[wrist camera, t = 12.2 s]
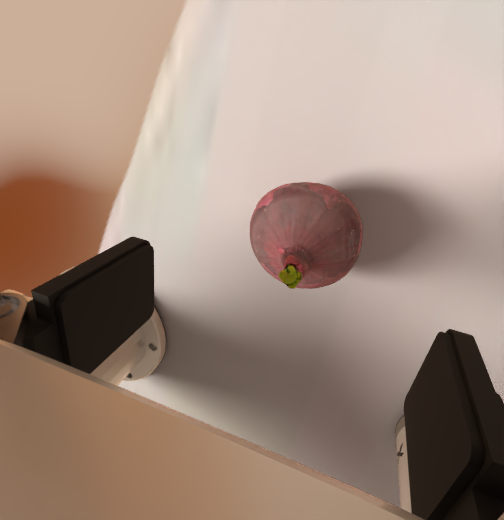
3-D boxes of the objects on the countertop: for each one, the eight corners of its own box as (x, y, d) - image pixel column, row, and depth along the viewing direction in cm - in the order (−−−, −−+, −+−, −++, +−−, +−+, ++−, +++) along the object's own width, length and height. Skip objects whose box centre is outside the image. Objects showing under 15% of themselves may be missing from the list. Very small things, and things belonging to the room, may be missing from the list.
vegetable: (368, 255, 22) (365, 351, 13) (278, 262, 24) (226, 347, 15) (359, 161, 20) (349, 203, 11) (262, 178, 22) (191, 223, 13)
